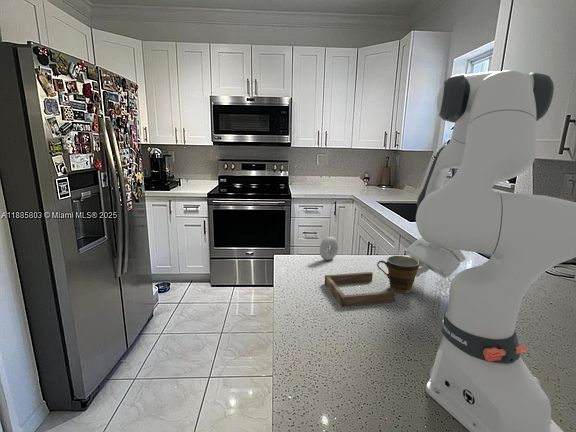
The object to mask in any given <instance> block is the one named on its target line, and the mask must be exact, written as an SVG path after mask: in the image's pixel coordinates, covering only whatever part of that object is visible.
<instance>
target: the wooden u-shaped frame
mask: <svg viewBox="0 0 576 432" xmlns="http://www.w3.org/2000/svg"><path fill="white" fill-rule="evenodd" d="M373 275H374V274H373V272H372V271H364V272H363V271H362V272H351V273H340V274H339V273H337V274H326V275H324V284H325V286H326V287H327V289H328V290H329V292H330V293H331V295H333V296H334V298H335V299H336V301H337V302H338V304H339V305H340V306H341V307H354V306H363V305H373V304H383V303H384V304H385V303H392V302H394V303H395V302H396V293H397V292H395V291H393V290H388V291H376V292H366V293H364V292H363V293H355V294H353V293H352V294H344V292H343V291H342V290H341V289H340V287H339V286H338V285H339V284H340V285H341V284H342V285H343V284H350V283H351V284H352V283H364V282H365V283H366V282H373Z"/></svg>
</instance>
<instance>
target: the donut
mask: <svg viewBox="0 0 576 432" xmlns="http://www.w3.org/2000/svg"><path fill="white" fill-rule="evenodd" d="M329 246H330V247H329ZM338 250H339V243H338V240H337V239H336V238H335V237H334V236H326V237H325V238H324V239H323V240H322V241H321V243H320V245H319V255H320V257H321V258H322V259H324V260H325V261H331V260H333V259H334V258H335V257H336V255H337V254H338Z"/></svg>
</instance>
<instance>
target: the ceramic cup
mask: <svg viewBox="0 0 576 432" xmlns="http://www.w3.org/2000/svg"><path fill="white" fill-rule="evenodd" d="M380 263H381V264H382V263H383V264H384V265H385V266H386V268H387V270H388V273H386V272H385V270H383V269H382V268H381V267H380V266H379V264H380ZM376 266H377V268H378V269H379V270H380V271H381V272H383V274H384V275H385V276H386V277H387V279H388V282H389V287H390V291H394V292H396V293H397V294H408V293H410V292H412V289H413V286H414V282H415V280H416V279H415V278H416V277H417V276H416V274H417V271H418V267H419V262H418V261H417V260H416V259H413V258H410V257H409V256H406V255H405V256H404V255H392V256H388V257H387V258H386V260H379V261H378V262H377V264H376ZM419 268H420V267H419Z"/></svg>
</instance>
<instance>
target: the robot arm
mask: <svg viewBox="0 0 576 432" xmlns="http://www.w3.org/2000/svg"><path fill="white" fill-rule="evenodd" d="M554 89H555V85H554V81H553V80H552V78H551V76H549V75H547V74H544V73H539V72H530V73H523V72H522V71H518V70H510V69H509V70H507V69H506V70H502V71H501V70H500V71H486V72H478V73H471V74H465V73H460V74H455V75H452V76H449V77H448V78H447V79H446V80H445V81H444V82H443V84H442V86H441V88H440V89H439V90H438V91H439V92H438V93H437V96H436V97H437V98H436V108H437V111H438V116H439V117H440V118H441V120H443V121H446V122H450V123H454V125H453V128H452V129H453V130H452V133H451V137H450V140H449V142H448V143H447V144H445V145H443V146H441V147H440V148H439V150H438V152H437V153H436V155H435V157H434V158H433V161H432V164H431V167H430V170H429V172H428V175H427V177H426V179H425V183H424V185H423V188H422V190H421V191H420V193H419V194H418V197H417V200H416V206H417V209H416V213H415V223H416V224H415V225H416V229H417V231H418V233H419V236H421V237H420V238H418V239H417V240H415V241H413V243H412V244H410V245H409V246H407V248H406V250H405V253H406V255H408V256H407V257H410V258H413V259H416V260H417V261H418V262H419V267H418V271H417V274H416V276H415V277H419V276H420V275H422V274H424V273H426V272H428V271H429V270H431V271H432V272H434V273H436V275H439V276H441V277H442V278H444V279H446V278H449V277H451V275H452V274H453V273H454V272H455V271H457V269H458V268H459V267H460V265H461V263H463V262H465V260H467V258H466V256H465V255H464V253H463V252H462V251H464V252H471V253H480V254H486V255H491V257H490V258H489V259H488V260H487V261H485V262H483V263H482V264H480V265H477V266H474V267H469V268H466V269H464V270H461V271H460V272H458V273H457V274H456V275H455V276H454V277H453V278H452V279H451V282H450V287H449V295H448V303H447V310H446V311H445V312H444V314H443V319H442V322H441V324H442V327H441V332H442V334H443V335H442V338H441V341H440V344H439V347H438V350H437V352H436V354H435V359H434V363H433V365H432V366H431V368H430V370H429V379H428V381H427V382H426V384H425V385H426V386H425V392H426V394H427V395H428V396H430V397H431V398H432V399H433V400H435V402H436V403H438V404H439V405H440V406H441V407H442V408H444V410H445V411H446V412H448V413H449V415H451V416H452V417H453V418H455V420H457V421H458V422H459V423H460V424H461V425H462V426H463V427H464V428H466V429H467V431H469V432H564V430H563V429H562V428H561V427H560V426H559V425H558V424H557V423H556V422H555V421H554V420H553V419H552V407H551V401H550V399H549V397H548V395H547V394H546V392H545V391H544V389H542V387H541V382H540V380H539V379H538V378H537V377H536V376H534V375H533V374H532V372H531V371H530V369H529V368H528V366H527V365H526V363H525V362H524V361H523V359H522V358H521V354H523V353H527V352H528V350H526V349H528V345H521V346H520V344H519V340H518V335H517V331H516V324H517V319H518V315H519V313H520V312H519V310H520V308H521V305H522V302H523V299H524V296H525V295H526V292H527V291H528V289H529V288H530V287H531V285H532V284H533V283H534V282H535V281H536V280H537V279H538V278H539V277H541V275H542V274H544V273H545V272H546V271H548V270H550V269H551V268H553V267H555V266H557V265H559V264H562V263H564V262H567V261H570V260H572V259H574V258H576V202H575V201H571V200H567V199H563V198H560V197H559V198H558V197H554V196H553V197H552V196H549V195H542V194H541V195H540V194H526V193H510V192H509V193H508V192H499V191H495V190H494V189H493V187H494V186H495V185H497V184H500V183H502V182H504V181H505V182H506V181H508V180H511V179H514V178H516V177H518V176H520V175H522V174H524V173H525V172H526V171H528V170H529V169H530V168H531V166H532V165H533V164H534V162H535V159H536V156H537V154H536V153H537V151H536V150H537V121H539V120H540V119H542V118H544V116H545V115H546V114H547V112H548V111H549V109H550V107H551V105H552V102H553V100H554V95H555V94H554V92H555V91H554ZM450 169H457V171H456V172H455V174H454V175H453V176H452V177H451V178H450V179H449V180H448V181H447V182H446V181H445V180H446V178H447V177H448V174H449V172H450ZM445 182H446V183H445ZM444 183H445V184H444Z"/></svg>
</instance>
